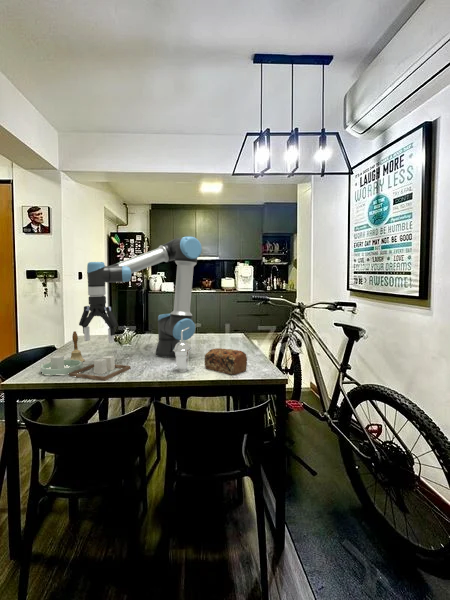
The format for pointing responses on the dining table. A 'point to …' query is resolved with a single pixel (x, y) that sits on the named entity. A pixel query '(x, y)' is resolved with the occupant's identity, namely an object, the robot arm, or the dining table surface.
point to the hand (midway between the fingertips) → (99, 341)
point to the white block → (100, 366)
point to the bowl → (73, 367)
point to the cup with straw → (182, 354)
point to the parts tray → (99, 376)
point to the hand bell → (76, 349)
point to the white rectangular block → (57, 362)
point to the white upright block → (110, 362)
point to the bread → (226, 361)
